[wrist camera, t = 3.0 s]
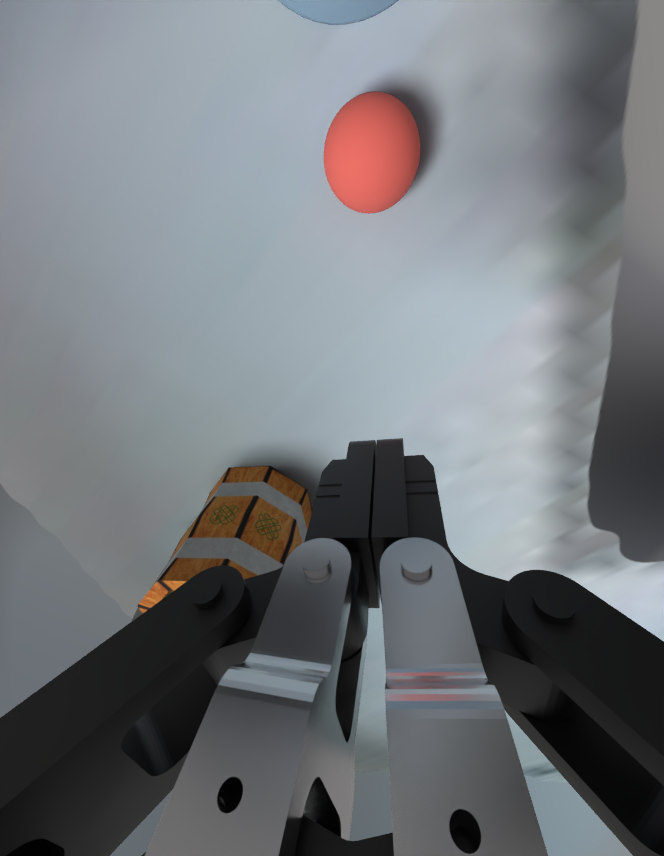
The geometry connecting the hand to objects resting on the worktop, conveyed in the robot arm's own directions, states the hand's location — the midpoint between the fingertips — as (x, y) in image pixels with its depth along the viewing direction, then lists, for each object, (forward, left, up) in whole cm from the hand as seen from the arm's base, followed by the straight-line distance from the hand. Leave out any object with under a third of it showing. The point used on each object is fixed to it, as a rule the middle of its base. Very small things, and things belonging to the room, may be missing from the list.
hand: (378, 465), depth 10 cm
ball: (0, +10, -20) cm, 22 cm away
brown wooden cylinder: (-20, -23, -23) cm, 38 cm away
